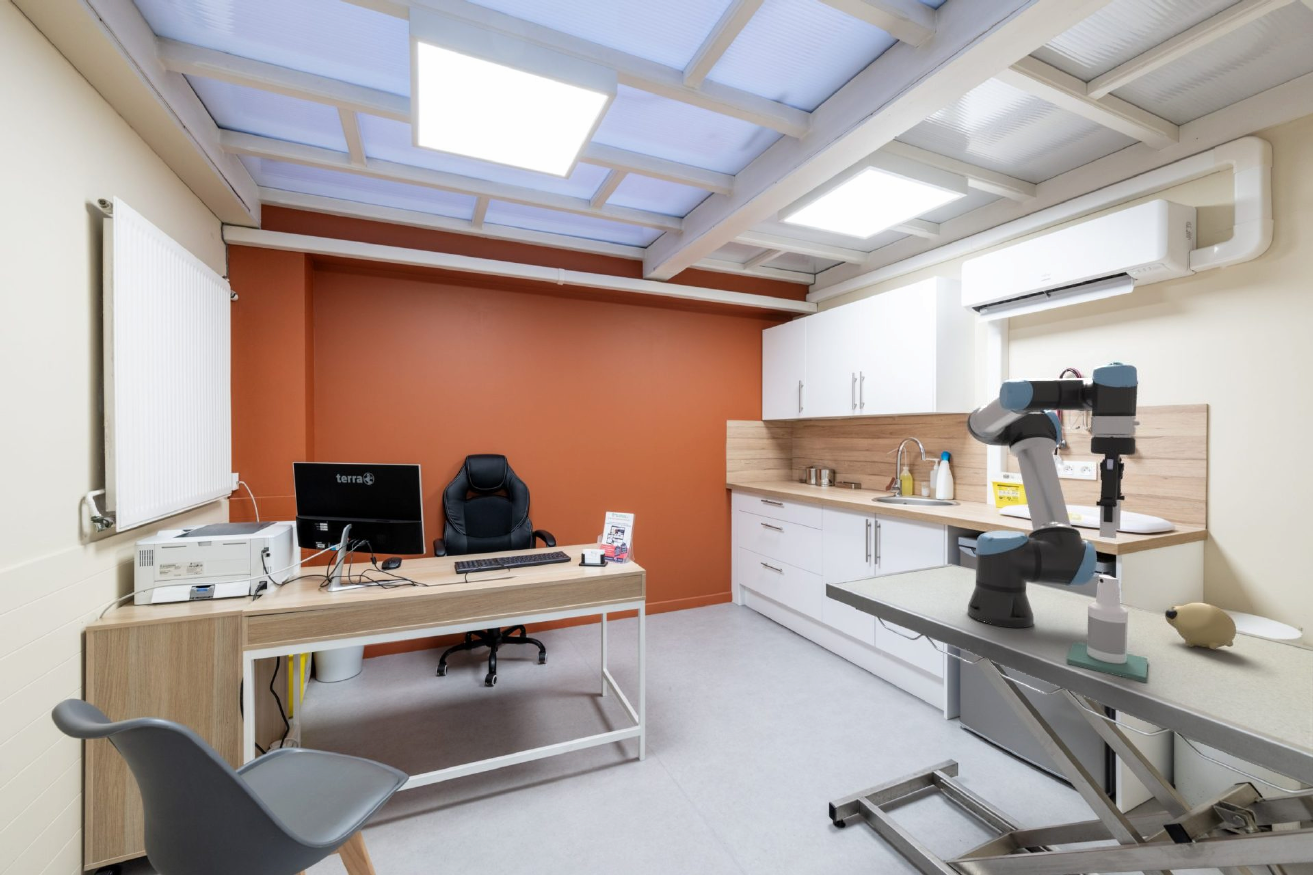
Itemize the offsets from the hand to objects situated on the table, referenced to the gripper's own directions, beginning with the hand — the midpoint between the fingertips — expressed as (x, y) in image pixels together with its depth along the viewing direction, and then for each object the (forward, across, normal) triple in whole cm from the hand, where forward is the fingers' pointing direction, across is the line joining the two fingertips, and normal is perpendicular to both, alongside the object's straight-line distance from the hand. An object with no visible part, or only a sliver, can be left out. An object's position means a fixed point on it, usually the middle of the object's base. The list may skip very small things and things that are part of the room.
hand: (1110, 532), depth 121 cm
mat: (+29, -1, 0) cm, 29 cm away
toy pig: (+29, +27, -16) cm, 43 cm away
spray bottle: (+28, 0, 0) cm, 28 cm away
